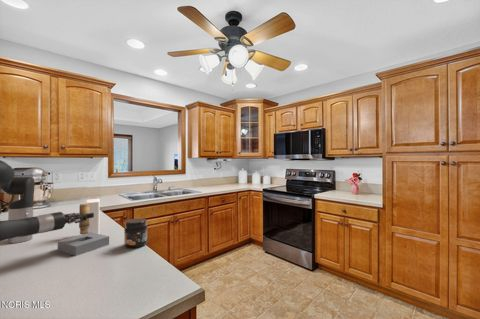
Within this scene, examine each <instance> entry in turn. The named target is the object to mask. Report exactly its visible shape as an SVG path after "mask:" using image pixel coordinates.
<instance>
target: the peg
mask: <svg viewBox="0 0 480 319" xmlns="http://www.w3.org/2000/svg"><path fill="white" fill-rule="evenodd" d="M78 213H79V214H80V215H82V214H89V213H90V204H86V203H82V204H79V212H78ZM78 226H79V227H78V228H79V235H83V234H87V233H88V227H89V218H88V219H87V220H86V221H82V222H79V223H78Z"/></svg>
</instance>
